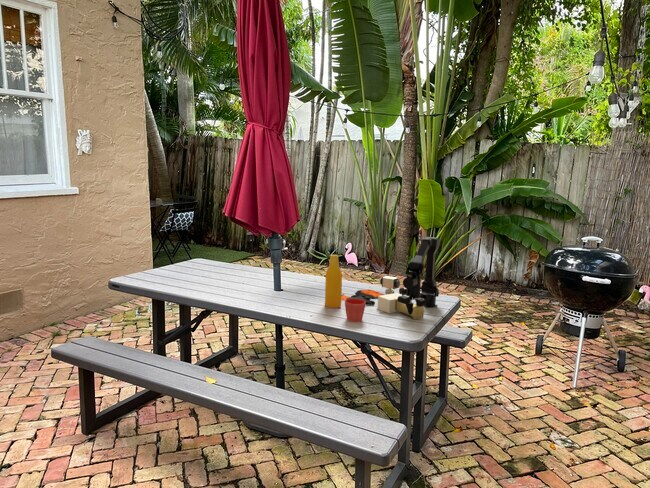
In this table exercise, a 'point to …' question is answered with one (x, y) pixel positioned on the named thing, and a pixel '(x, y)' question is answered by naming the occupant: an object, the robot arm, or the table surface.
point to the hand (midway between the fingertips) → (413, 313)
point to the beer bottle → (333, 284)
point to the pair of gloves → (364, 296)
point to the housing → (388, 302)
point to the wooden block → (416, 310)
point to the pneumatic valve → (389, 284)
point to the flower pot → (354, 309)
